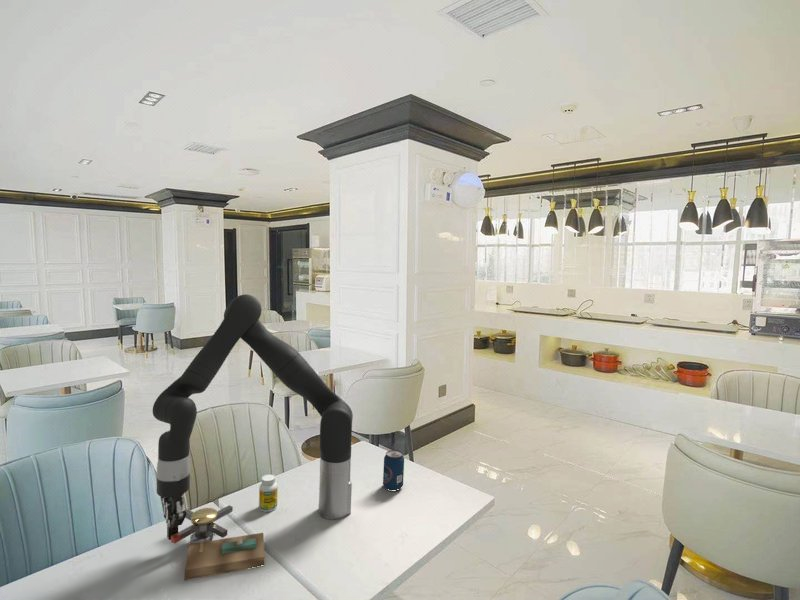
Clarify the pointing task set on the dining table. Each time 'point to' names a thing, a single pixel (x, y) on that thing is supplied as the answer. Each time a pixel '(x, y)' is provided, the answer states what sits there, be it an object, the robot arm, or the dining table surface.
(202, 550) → the stand
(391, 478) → the soda can
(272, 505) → the supplement bottle
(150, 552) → the dining table surface
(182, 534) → the capstan
